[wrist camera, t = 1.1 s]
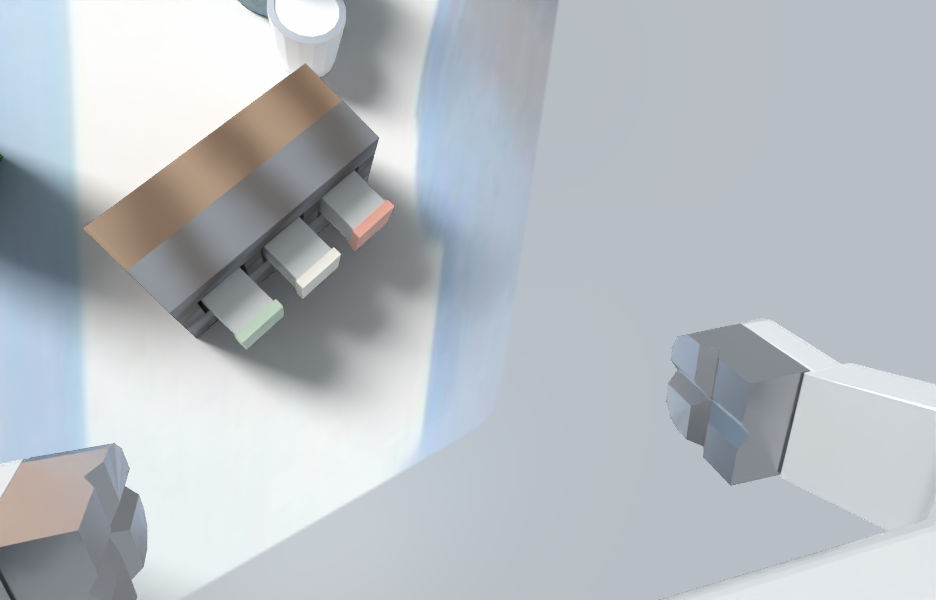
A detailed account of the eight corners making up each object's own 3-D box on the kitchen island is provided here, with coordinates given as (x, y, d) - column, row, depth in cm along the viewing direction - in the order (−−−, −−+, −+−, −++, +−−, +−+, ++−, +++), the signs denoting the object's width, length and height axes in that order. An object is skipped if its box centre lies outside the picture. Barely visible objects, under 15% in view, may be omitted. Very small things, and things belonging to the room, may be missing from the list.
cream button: (302, 299, 52) (303, 288, 48) (260, 257, 51) (258, 243, 48) (338, 267, 53) (341, 254, 49) (297, 226, 53) (297, 210, 49)
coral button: (355, 251, 54) (359, 237, 50) (315, 211, 53) (316, 194, 50) (387, 221, 55) (394, 206, 51) (349, 182, 55) (352, 164, 51)
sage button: (246, 350, 50) (241, 343, 46) (202, 307, 49) (194, 296, 46) (284, 315, 51) (283, 306, 47) (241, 273, 51) (237, 260, 47)
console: (196, 338, 54) (169, 313, 42) (128, 271, 53) (83, 228, 42) (363, 193, 60) (379, 137, 49) (304, 133, 60) (305, 63, 48)
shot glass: (347, 82, 62) (353, 41, 55) (276, 88, 60) (273, 45, 53) (334, 20, 63) (338, -28, 56) (263, 23, 61) (259, -27, 54)
